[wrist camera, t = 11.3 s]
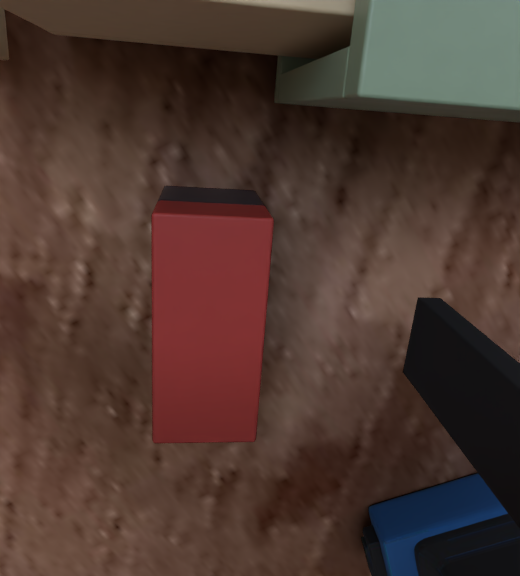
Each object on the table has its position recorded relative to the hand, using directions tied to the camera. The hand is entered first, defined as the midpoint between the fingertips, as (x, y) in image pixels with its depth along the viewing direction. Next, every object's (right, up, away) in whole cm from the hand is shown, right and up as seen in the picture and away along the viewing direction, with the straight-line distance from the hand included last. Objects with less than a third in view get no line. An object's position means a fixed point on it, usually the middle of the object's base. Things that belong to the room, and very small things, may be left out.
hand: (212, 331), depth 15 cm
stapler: (-1, +1, +4) cm, 5 cm away
